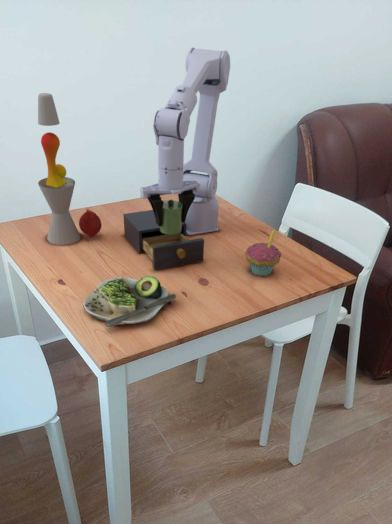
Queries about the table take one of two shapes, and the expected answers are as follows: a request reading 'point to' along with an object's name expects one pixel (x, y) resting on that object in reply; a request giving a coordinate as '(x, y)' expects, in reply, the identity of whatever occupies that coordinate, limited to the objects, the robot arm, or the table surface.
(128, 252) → the table surface
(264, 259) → the cupcake
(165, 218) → the pot
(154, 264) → the drawer
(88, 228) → the onion
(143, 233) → the cabinet
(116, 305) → the avocado toast plate
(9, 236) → the table surface
